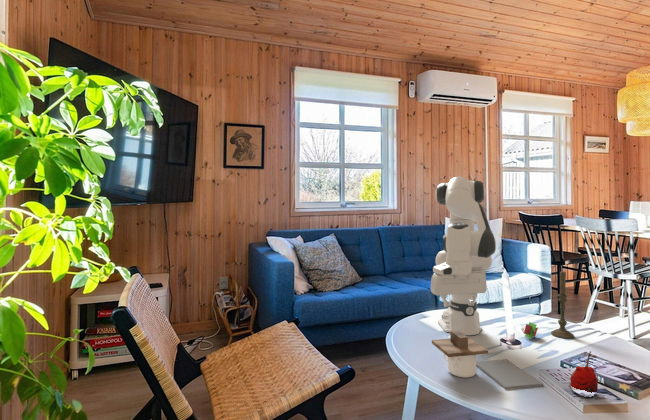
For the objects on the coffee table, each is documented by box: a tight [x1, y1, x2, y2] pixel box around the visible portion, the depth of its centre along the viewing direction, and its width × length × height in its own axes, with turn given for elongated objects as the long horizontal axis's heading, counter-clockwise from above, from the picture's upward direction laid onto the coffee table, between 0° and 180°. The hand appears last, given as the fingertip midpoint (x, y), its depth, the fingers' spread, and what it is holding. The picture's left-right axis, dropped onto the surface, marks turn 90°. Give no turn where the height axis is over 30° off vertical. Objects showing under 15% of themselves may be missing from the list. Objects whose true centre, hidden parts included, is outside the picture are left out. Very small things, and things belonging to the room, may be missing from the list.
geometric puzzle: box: [520, 321, 540, 340], centre depth 173 cm, size 7×7×8 cm
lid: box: [431, 331, 489, 358], centre depth 139 cm, size 13×15×5 cm
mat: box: [476, 358, 545, 390], centre depth 137 cm, size 20×14×1 cm
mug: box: [443, 353, 477, 378], centre depth 139 cm, size 12×10×9 cm
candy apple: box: [569, 351, 599, 393], centre depth 123 cm, size 8×7×15 cm
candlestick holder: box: [550, 270, 575, 340], centre depth 175 cm, size 9×9×30 cm
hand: (458, 306), depth 138 cm, fingers open, 8 cm apart
